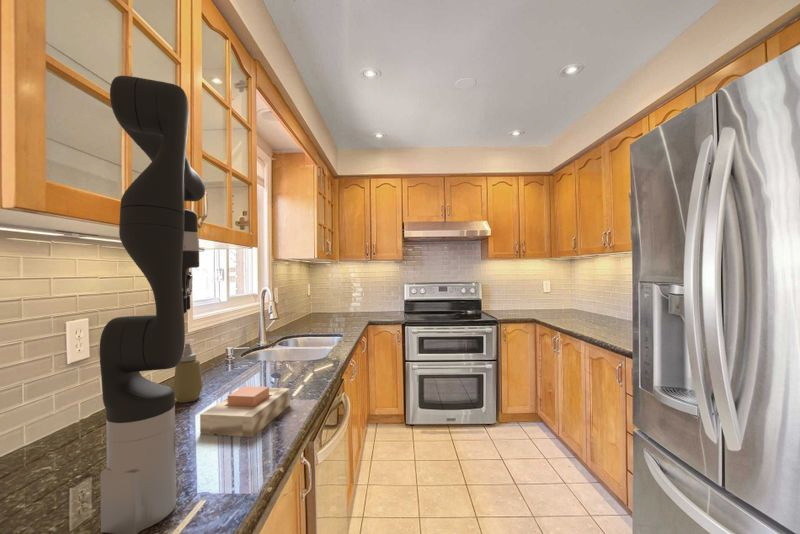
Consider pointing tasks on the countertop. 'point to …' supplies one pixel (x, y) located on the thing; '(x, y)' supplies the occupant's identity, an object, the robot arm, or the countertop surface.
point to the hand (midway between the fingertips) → (183, 311)
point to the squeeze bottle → (187, 377)
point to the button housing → (244, 415)
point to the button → (248, 396)
